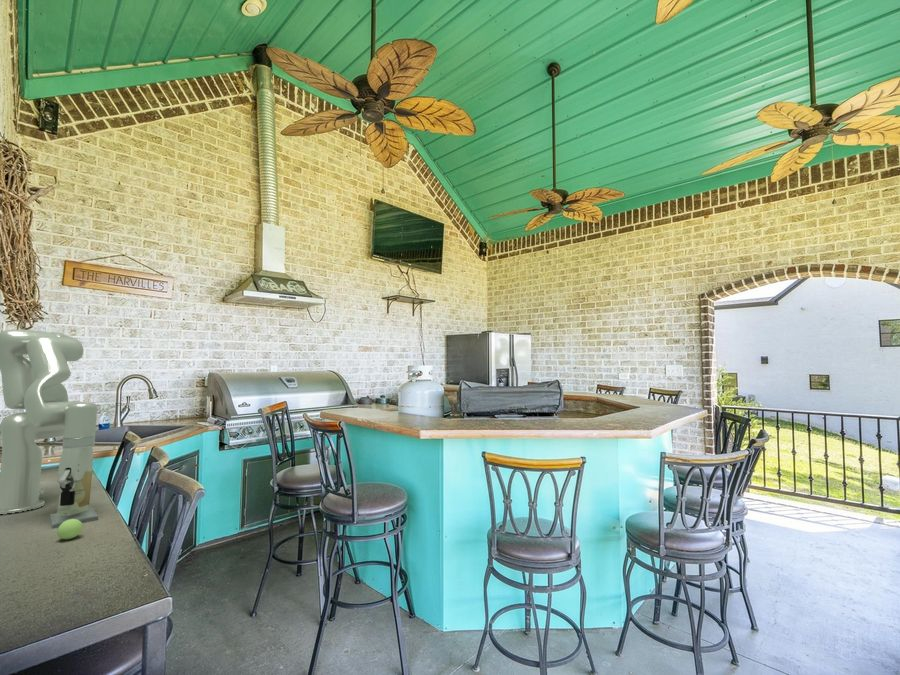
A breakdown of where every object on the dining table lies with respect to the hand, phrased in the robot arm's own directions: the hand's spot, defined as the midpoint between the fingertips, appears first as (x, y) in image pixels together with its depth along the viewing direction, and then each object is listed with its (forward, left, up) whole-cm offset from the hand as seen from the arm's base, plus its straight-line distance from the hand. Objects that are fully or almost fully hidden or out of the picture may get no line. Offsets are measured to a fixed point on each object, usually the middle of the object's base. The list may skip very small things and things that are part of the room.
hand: (74, 501), depth 128 cm
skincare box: (0, 0, -4) cm, 4 cm away
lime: (+20, +8, -5) cm, 22 cm away
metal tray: (0, 0, -5) cm, 5 cm away
